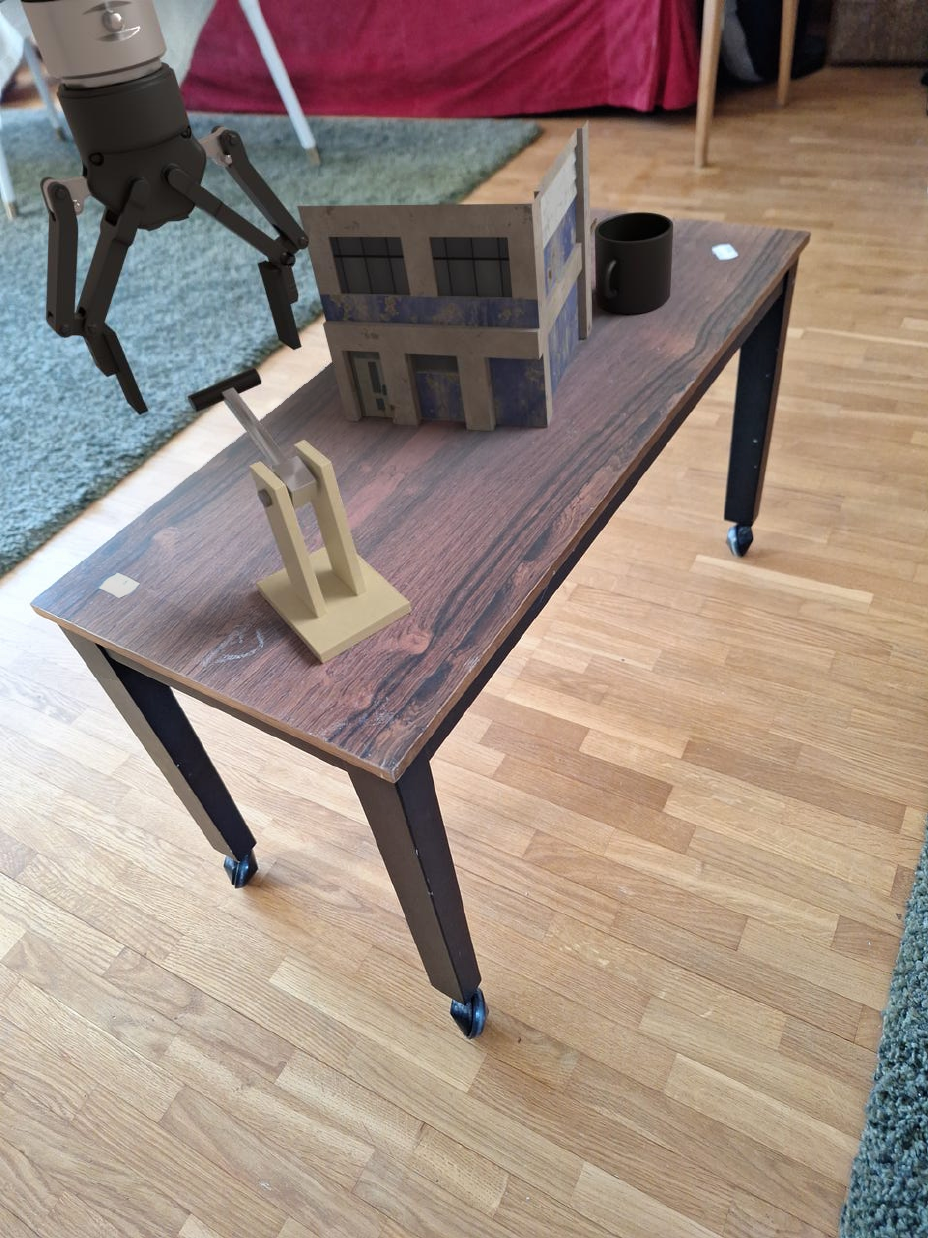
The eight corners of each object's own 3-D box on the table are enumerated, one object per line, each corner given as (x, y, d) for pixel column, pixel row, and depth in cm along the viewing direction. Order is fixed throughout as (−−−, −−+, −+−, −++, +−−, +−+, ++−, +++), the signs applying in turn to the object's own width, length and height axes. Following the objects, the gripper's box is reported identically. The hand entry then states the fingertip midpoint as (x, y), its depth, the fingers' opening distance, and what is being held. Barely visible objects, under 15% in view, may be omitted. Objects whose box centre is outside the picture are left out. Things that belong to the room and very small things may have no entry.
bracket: (259, 592, 78) (205, 457, 68) (342, 547, 82) (303, 411, 71) (322, 664, 71) (273, 524, 61) (412, 611, 74) (379, 470, 64)
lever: (190, 408, 71) (185, 388, 69) (254, 380, 73) (251, 359, 71) (272, 520, 67) (270, 503, 65) (338, 487, 69) (337, 469, 67)
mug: (571, 316, 109) (569, 244, 103) (618, 277, 115) (618, 207, 109) (638, 329, 105) (639, 255, 98) (683, 288, 111) (687, 216, 104)
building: (346, 420, 98) (293, 208, 82) (418, 321, 113) (386, 127, 97) (544, 434, 91) (529, 206, 75) (592, 327, 106) (588, 119, 90)
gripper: (-79, 134, 48) (83, 455, 62) (309, 30, 57) (370, 332, 71) (-102, 114, 52) (53, 417, 67) (259, 21, 61) (326, 306, 76)
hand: (216, 374), depth 69 cm, fingers open, 13 cm apart
